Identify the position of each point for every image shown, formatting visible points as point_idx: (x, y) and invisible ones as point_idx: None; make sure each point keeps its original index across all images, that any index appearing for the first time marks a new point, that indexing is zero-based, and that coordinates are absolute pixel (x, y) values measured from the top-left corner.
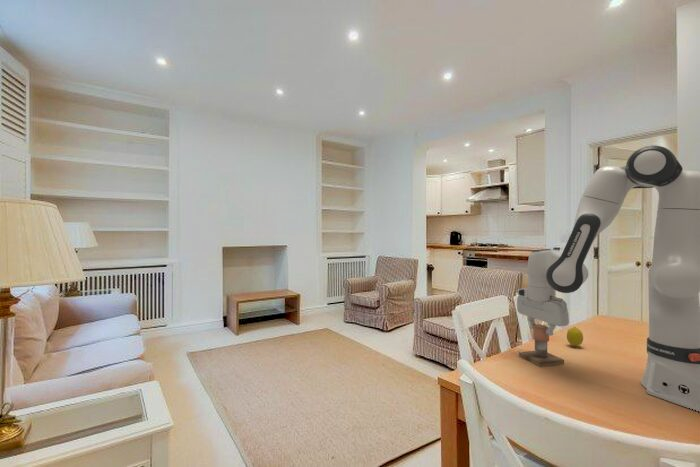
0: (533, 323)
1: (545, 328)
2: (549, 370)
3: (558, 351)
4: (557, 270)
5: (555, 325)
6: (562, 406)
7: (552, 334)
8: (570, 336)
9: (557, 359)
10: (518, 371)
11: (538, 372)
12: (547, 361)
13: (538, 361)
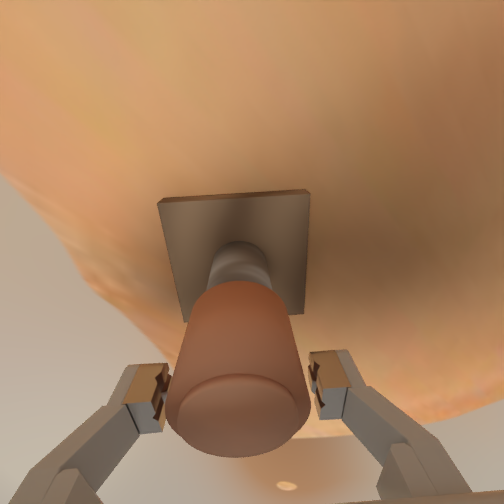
0: (125, 426)
1: (296, 409)
2: (334, 293)
3: (122, 46)
4: None
5: (443, 456)
6: (489, 389)
7: (348, 355)
8: None
9: (297, 224)
10: (307, 376)
11: (334, 333)
12: (303, 283)
13: (292, 313)
